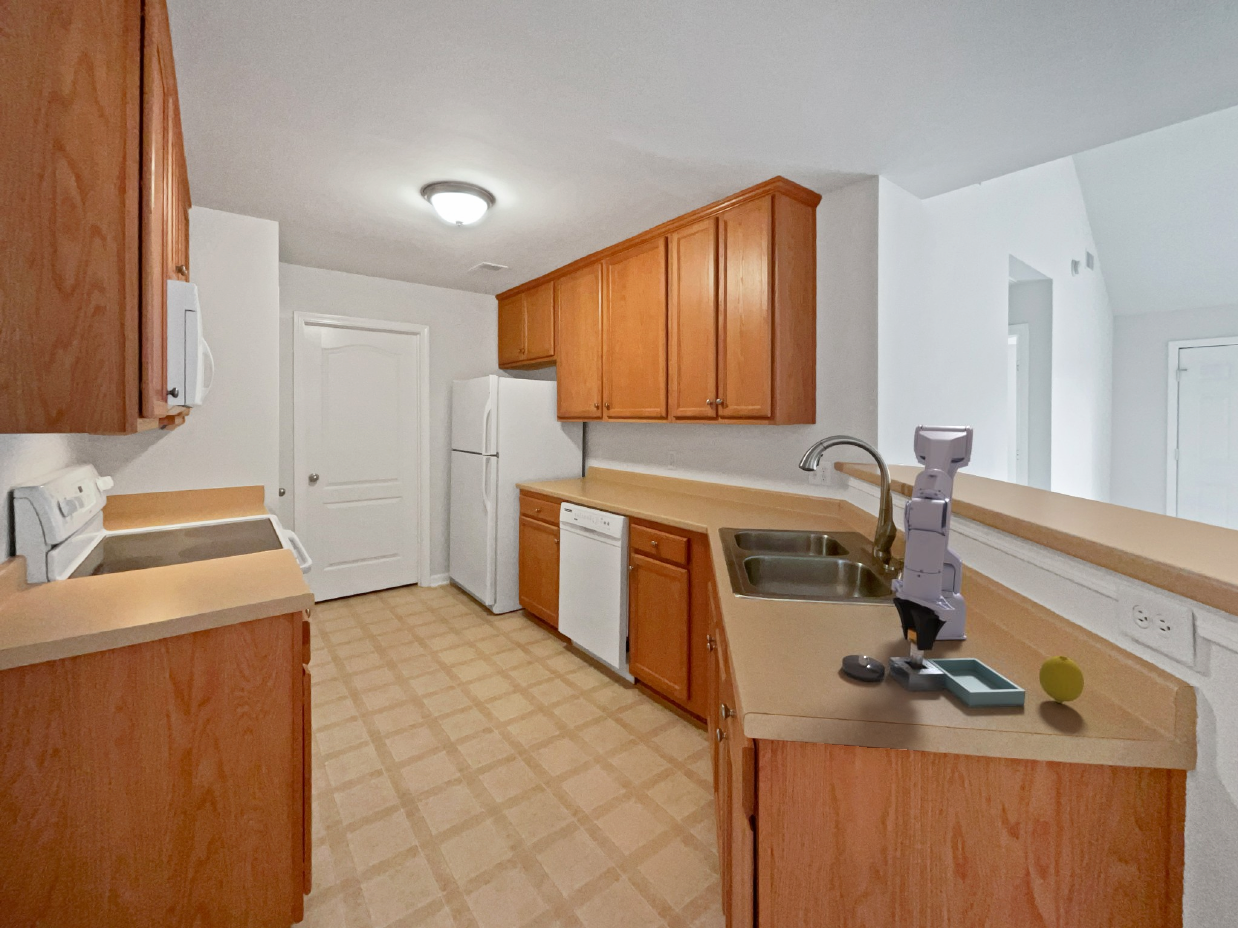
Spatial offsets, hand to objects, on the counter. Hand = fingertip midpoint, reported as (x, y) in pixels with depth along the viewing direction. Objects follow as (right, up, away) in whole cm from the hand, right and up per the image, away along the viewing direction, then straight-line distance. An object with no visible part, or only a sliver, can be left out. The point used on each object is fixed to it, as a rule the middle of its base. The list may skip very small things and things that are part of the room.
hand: (917, 644), depth 92 cm
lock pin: (0, -5, +1) cm, 4 cm away
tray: (+9, -7, -1) cm, 11 cm away
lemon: (+20, -8, -6) cm, 22 cm away
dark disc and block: (-4, -6, +2) cm, 8 cm away
